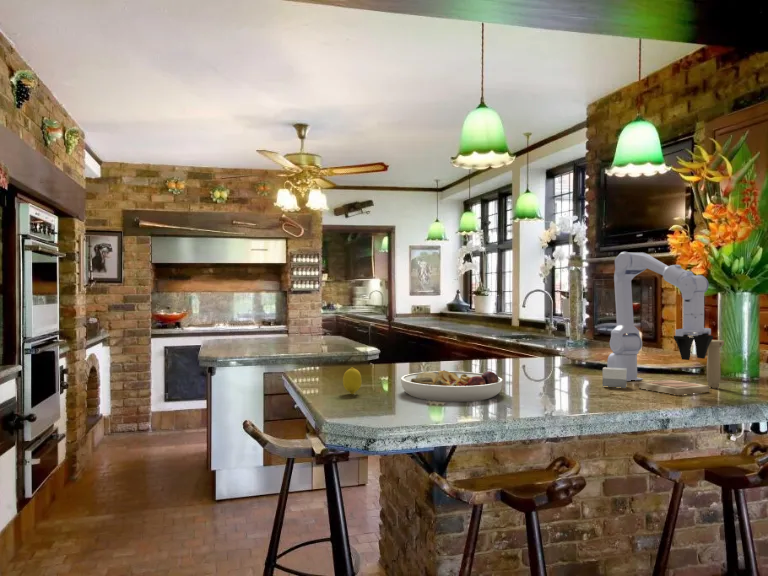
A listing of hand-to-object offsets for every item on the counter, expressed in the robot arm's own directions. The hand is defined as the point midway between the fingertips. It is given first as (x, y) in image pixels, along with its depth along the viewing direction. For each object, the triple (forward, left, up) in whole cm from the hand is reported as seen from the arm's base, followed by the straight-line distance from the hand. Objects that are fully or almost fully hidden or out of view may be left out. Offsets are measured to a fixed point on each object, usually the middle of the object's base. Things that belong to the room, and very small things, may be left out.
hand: (693, 359), depth 186 cm
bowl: (-29, -69, -10) cm, 76 cm away
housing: (-17, -15, -10) cm, 25 cm away
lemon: (-41, -96, -10) cm, 105 cm away
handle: (-2, +12, -10) cm, 16 cm away
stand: (-4, -4, -10) cm, 11 cm away
